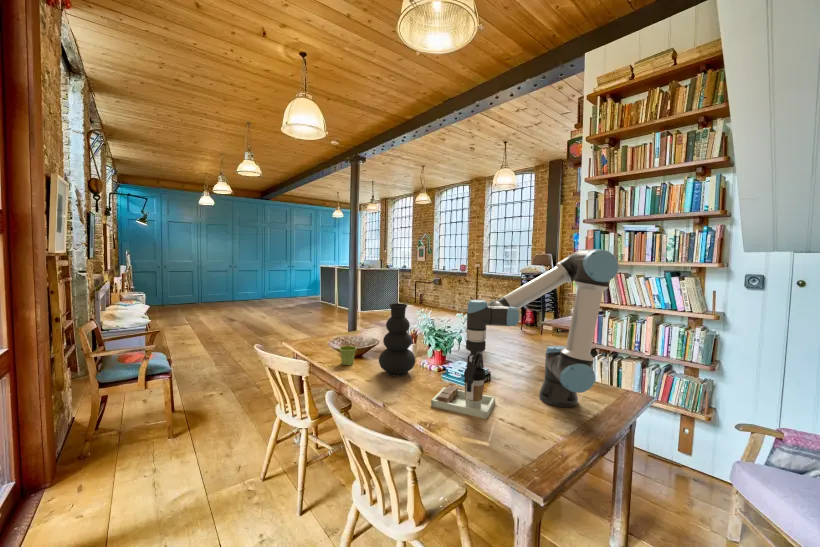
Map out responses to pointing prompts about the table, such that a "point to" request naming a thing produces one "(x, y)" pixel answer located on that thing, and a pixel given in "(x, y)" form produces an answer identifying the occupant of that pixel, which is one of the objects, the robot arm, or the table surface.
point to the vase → (397, 343)
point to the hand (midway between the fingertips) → (473, 393)
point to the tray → (460, 405)
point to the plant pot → (347, 354)
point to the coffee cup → (476, 389)
